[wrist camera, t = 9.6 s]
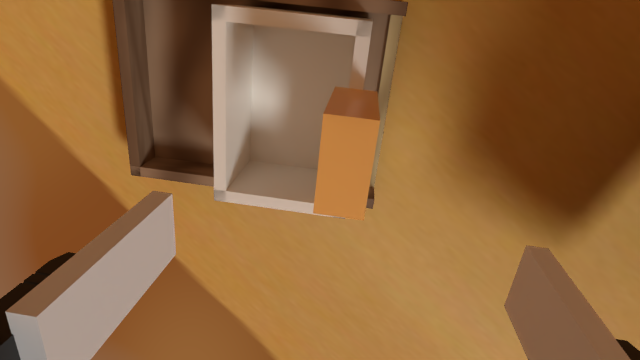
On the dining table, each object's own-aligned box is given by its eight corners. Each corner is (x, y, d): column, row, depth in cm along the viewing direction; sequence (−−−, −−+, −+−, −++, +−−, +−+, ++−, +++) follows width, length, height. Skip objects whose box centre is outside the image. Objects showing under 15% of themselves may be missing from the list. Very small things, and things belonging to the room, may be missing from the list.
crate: (383, 20, 33) (395, 28, 19) (359, 181, 39) (353, 282, 25) (245, 5, 34) (152, 2, 20) (242, 165, 40) (169, 254, 26)
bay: (403, 2, 34) (407, 2, 30) (372, 191, 41) (372, 208, 38) (136, -25, 35) (109, -29, 32) (151, 160, 43) (131, 175, 39)
